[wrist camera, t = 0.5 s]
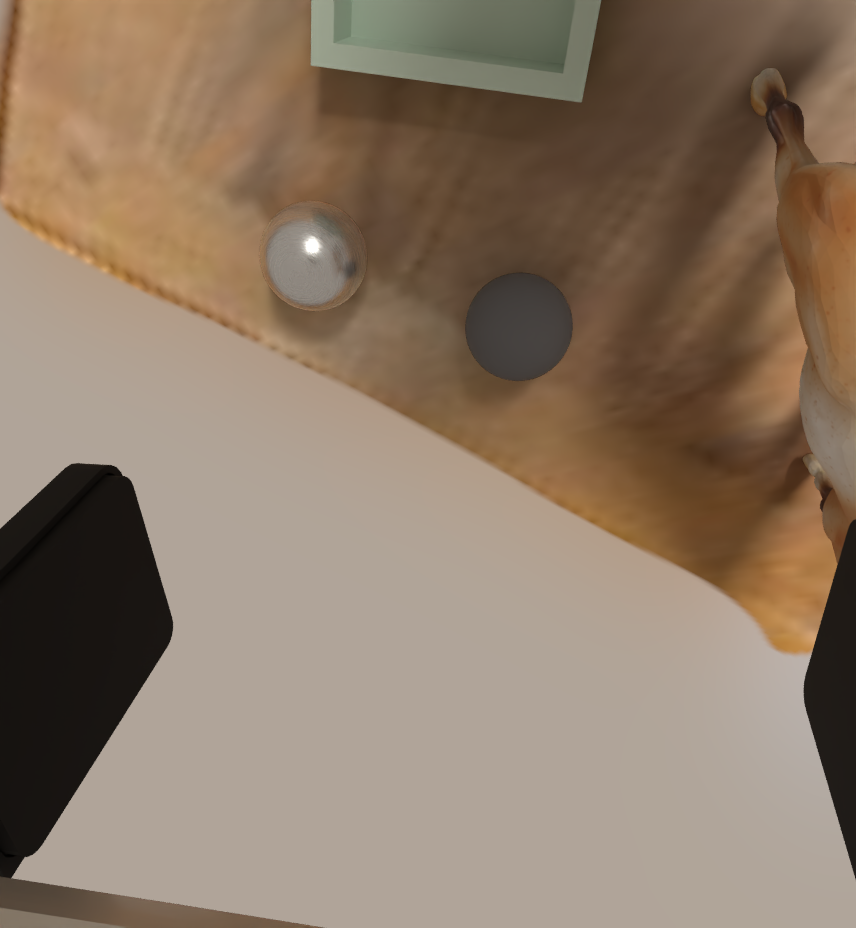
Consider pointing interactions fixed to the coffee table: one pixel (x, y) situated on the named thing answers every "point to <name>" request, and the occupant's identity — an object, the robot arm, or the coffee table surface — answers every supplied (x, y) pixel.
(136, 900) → the robot arm
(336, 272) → the steel ball
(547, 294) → the rubber ball
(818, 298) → the horse figurine
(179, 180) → the coffee table surface
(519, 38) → the tray
